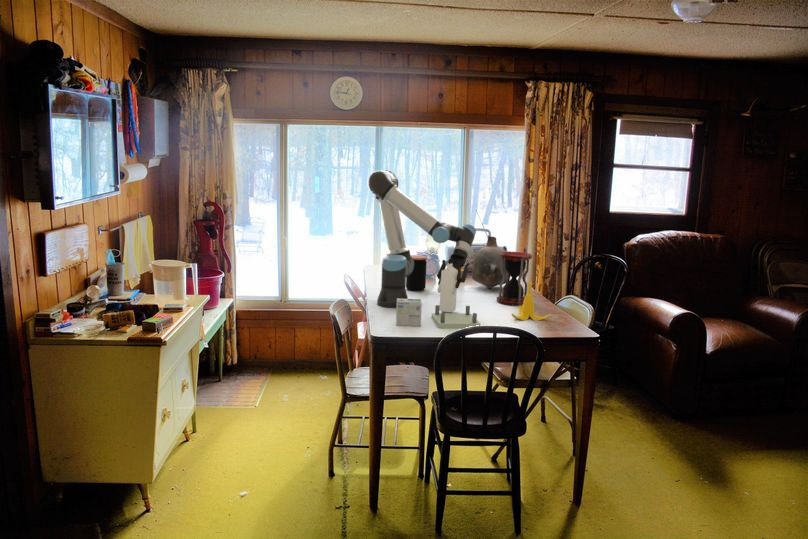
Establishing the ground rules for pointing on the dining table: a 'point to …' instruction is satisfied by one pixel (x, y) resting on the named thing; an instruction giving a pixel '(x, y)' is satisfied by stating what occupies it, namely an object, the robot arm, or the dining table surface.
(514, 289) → the hourglass
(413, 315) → the light bulb box
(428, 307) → the dining table surface
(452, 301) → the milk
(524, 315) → the banana peel
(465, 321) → the peg board
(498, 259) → the jug
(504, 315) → the dining table surface
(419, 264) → the coffee jar
